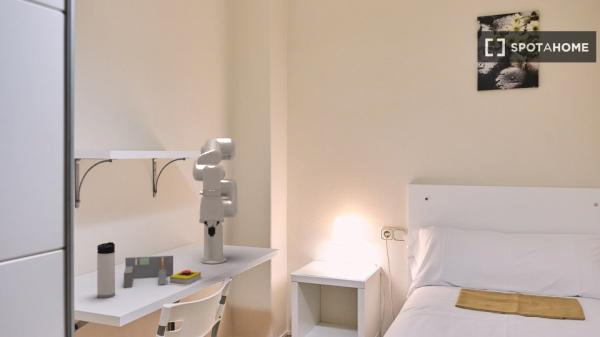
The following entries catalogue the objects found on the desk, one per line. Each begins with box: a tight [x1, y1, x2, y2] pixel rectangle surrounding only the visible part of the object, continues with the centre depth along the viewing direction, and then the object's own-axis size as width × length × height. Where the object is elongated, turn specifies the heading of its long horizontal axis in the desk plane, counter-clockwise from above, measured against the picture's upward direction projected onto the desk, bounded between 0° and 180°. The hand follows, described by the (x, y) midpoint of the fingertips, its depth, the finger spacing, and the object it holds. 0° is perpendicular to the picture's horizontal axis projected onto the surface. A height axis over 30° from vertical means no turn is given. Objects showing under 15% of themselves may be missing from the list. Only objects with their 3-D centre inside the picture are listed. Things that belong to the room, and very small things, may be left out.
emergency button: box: [166, 269, 203, 287], centre depth 211 cm, size 9×4×15 cm
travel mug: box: [96, 241, 116, 299], centre depth 188 cm, size 6×7×20 cm
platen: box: [158, 260, 167, 285], centre depth 209 cm, size 11×3×8 cm, turn 15°
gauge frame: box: [123, 255, 174, 289], centre depth 209 cm, size 16×20×9 cm
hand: (211, 236), depth 213 cm, fingers closed
